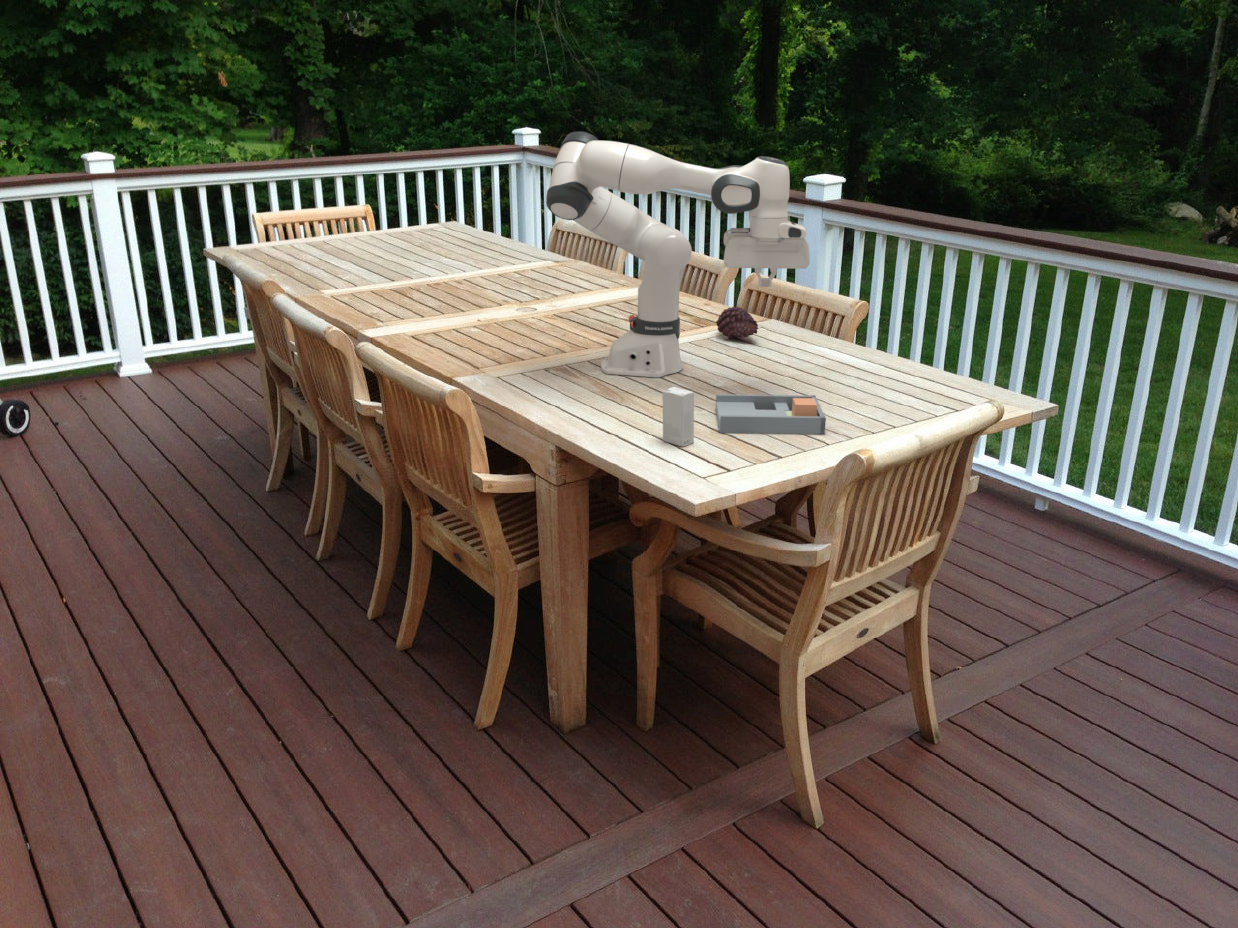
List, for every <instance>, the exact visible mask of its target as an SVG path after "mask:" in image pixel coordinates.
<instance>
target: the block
mask: <svg viewBox="0 0 1238 928" xmlns="http://www.w3.org/2000/svg"><path fill="white" fill-rule="evenodd" d="M816 415H817V404H816V401H815V399H814V398H793V402H792V416H815V417H816Z"/></svg>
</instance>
